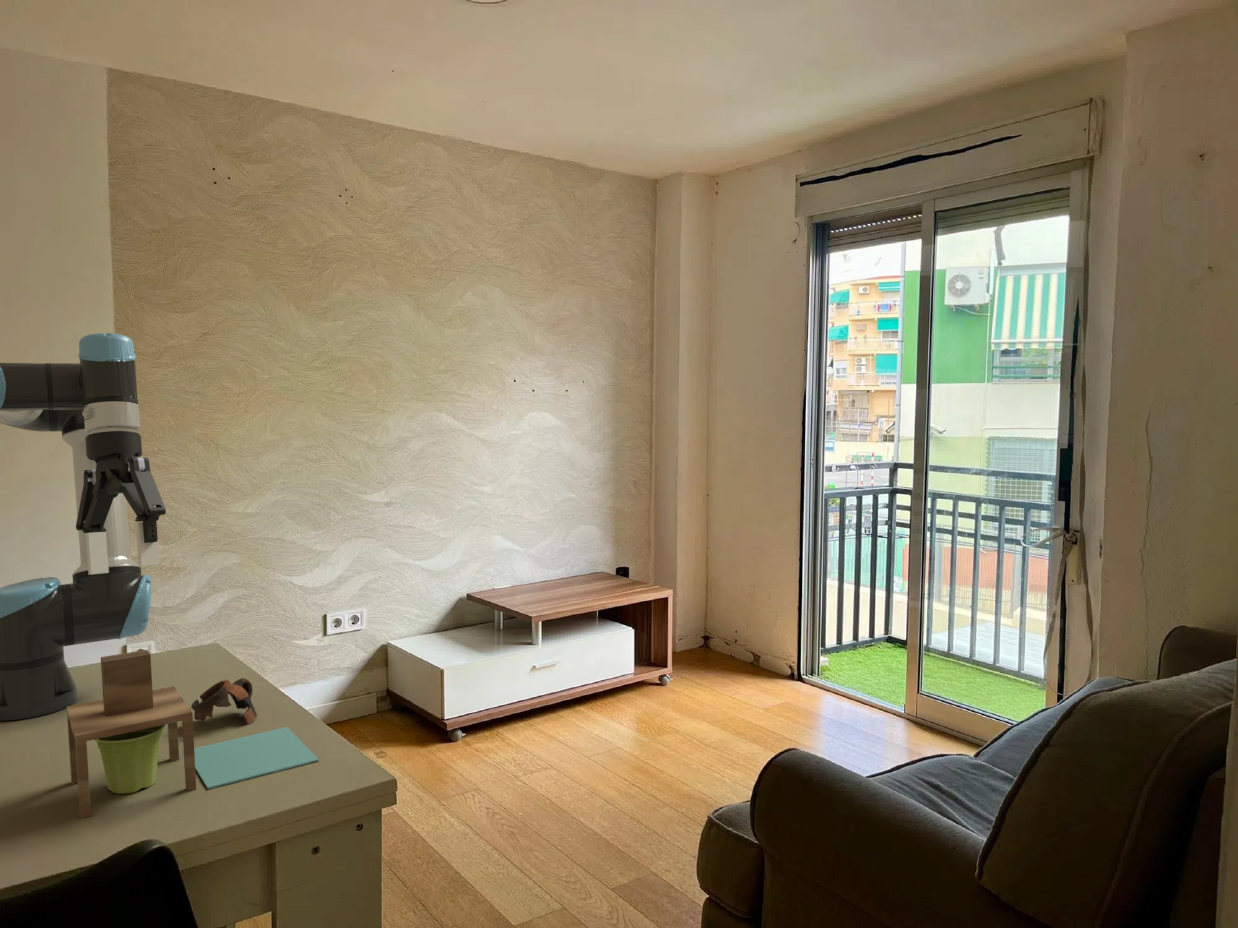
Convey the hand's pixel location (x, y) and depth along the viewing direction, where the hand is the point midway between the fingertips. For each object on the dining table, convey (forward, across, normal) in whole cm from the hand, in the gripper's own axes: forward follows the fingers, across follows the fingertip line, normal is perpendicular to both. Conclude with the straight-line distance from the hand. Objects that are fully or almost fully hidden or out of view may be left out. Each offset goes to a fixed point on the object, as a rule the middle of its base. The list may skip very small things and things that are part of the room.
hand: (123, 569), depth 133 cm
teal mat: (+32, +8, +14) cm, 35 cm away
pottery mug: (+28, -9, +22) cm, 37 cm away
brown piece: (+32, +1, -2) cm, 32 cm away
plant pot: (+32, +1, -2) cm, 32 cm away
